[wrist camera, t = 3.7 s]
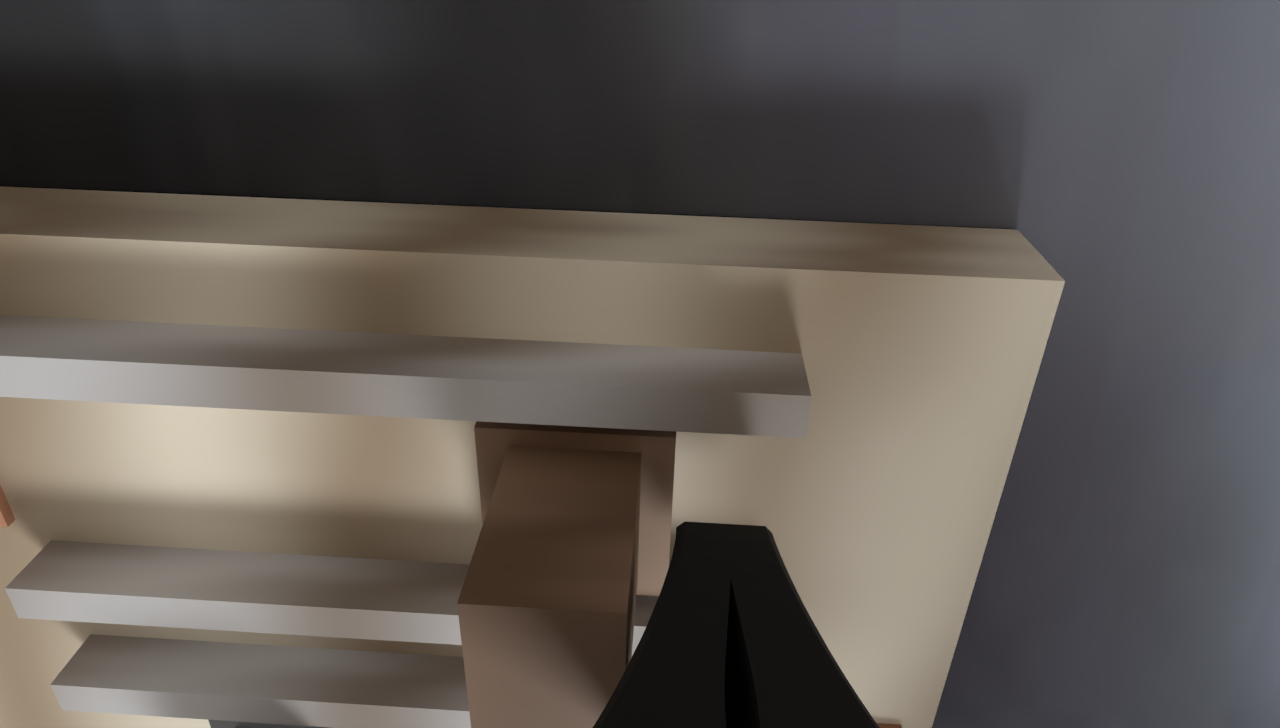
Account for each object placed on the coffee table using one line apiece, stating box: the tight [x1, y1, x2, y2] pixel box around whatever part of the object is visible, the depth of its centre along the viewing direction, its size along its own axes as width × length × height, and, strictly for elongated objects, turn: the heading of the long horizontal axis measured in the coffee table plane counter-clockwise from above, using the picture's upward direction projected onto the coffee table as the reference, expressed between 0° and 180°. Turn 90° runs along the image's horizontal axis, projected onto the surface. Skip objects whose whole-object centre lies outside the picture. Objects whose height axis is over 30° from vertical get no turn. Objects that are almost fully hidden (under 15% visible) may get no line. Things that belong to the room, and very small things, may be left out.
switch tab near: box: [457, 421, 676, 728], centre depth 12 cm, size 3×3×4 cm
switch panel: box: [0, 186, 1065, 728], centre depth 16 cm, size 20×15×3 cm
